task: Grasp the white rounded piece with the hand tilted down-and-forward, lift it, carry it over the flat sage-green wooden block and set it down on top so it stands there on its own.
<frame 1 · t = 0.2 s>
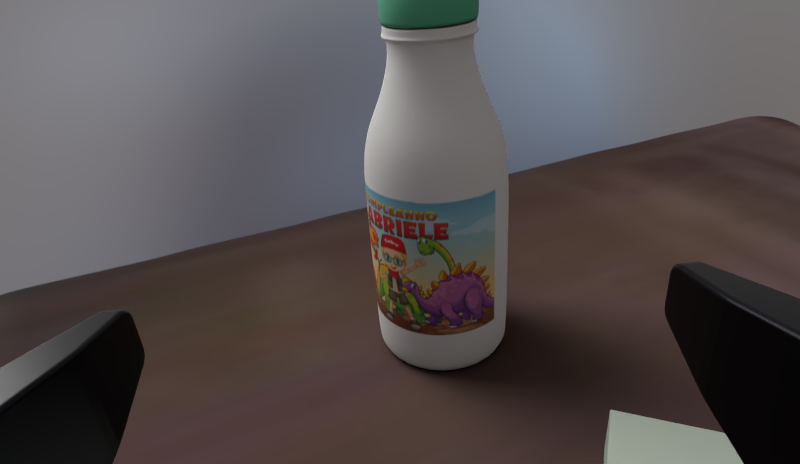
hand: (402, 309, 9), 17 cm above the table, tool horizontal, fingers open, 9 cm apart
milk bottle: (443, 333, 35), on the table
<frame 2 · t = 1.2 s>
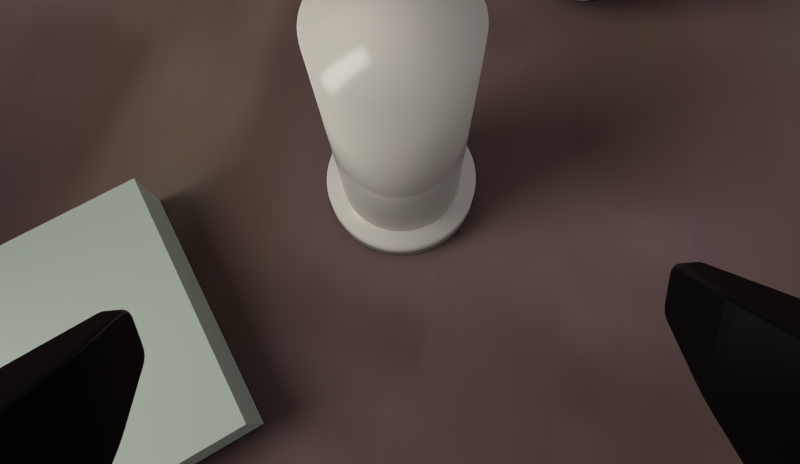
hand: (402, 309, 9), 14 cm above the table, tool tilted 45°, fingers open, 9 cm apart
white rounded piece: (401, 187, 25), on the table
block: (85, 371, 23), on the table
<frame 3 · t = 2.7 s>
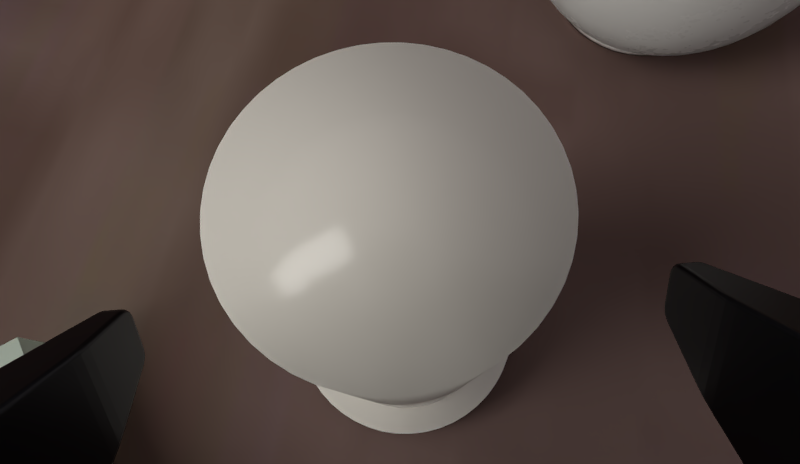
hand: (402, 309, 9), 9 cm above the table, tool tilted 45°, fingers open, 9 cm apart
white rounded piece: (405, 326, 18), on the table
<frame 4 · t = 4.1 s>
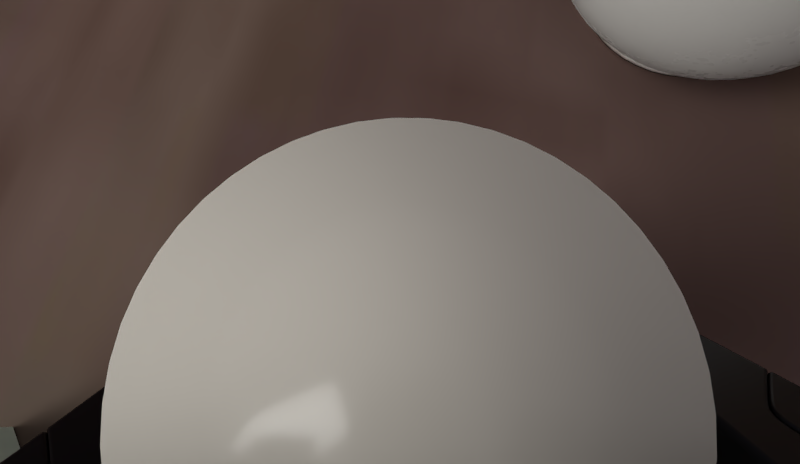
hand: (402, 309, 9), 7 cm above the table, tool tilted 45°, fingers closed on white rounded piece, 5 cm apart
white rounded piece: (411, 402, 15), on the table, touching gripper
lidded jar: (670, 4, 19), on the table
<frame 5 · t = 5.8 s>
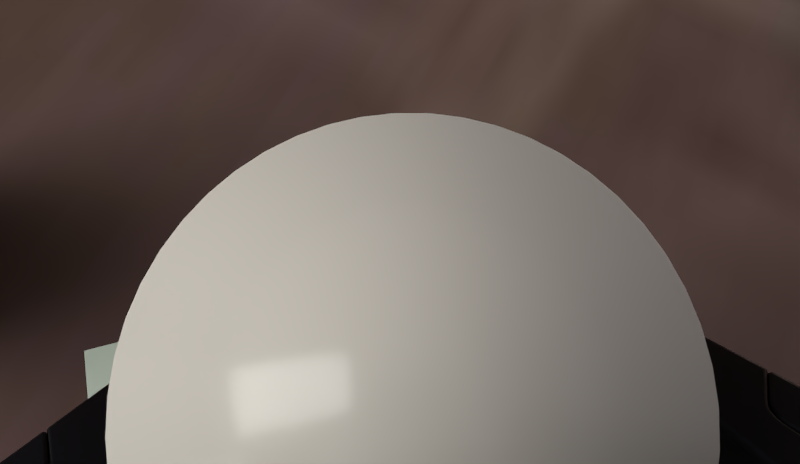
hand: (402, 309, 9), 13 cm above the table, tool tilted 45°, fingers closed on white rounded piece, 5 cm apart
white rounded piece: (412, 400, 15), point 7 cm above the table, touching gripper
block: (276, 462, 21), on the table
when the fingers open (9 cm above the table, at t = 7.5 s): white rounded piece stays where it is, resting on block.
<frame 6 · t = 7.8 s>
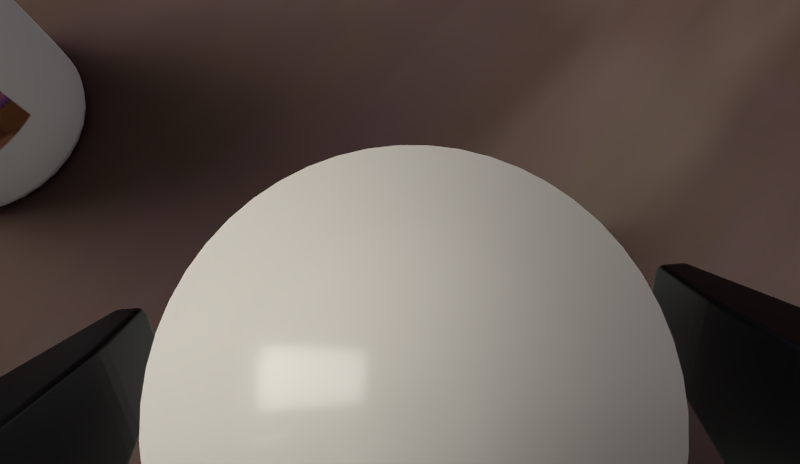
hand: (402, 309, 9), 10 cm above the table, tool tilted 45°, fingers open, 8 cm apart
white rounded piece: (413, 404, 16), point 2 cm above the table, touching block
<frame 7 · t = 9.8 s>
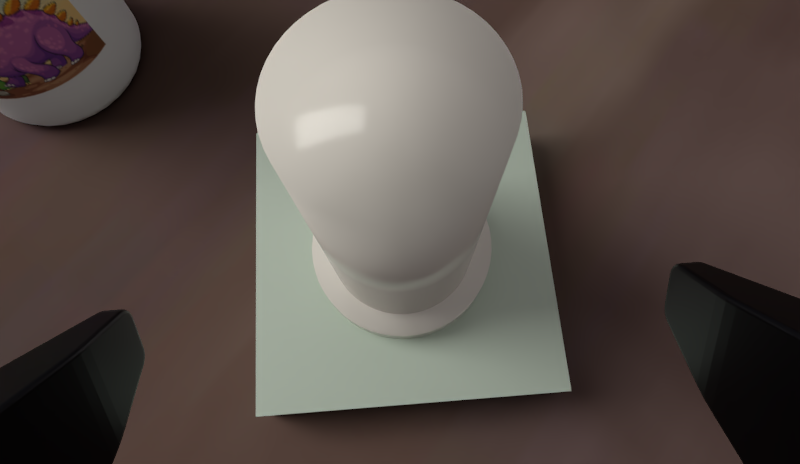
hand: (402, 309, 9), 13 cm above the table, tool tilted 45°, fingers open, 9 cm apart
white rounded piece: (402, 253, 21), point 2 cm above the table, touching block
block: (402, 266, 23), on the table
milk bottle: (70, 62, 27), on the table
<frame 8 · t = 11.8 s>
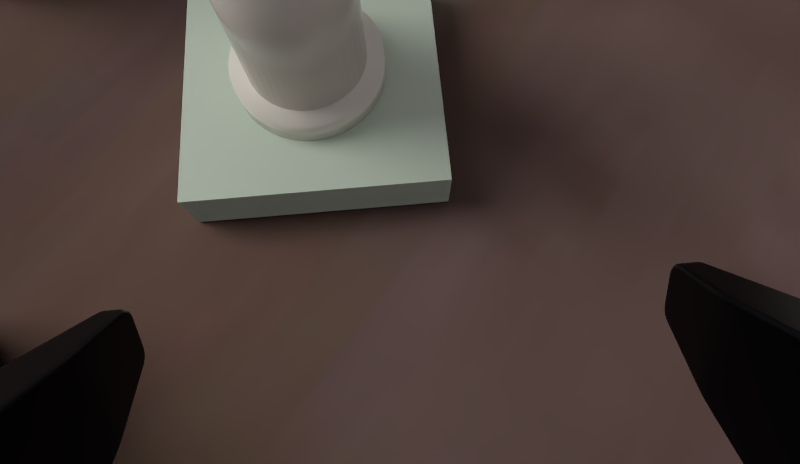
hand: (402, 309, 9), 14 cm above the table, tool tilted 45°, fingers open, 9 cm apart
white rounded piece: (311, 73, 24), point 2 cm above the table, touching block
block: (319, 102, 26), on the table
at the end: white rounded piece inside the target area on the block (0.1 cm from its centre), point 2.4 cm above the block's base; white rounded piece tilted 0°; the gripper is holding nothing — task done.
